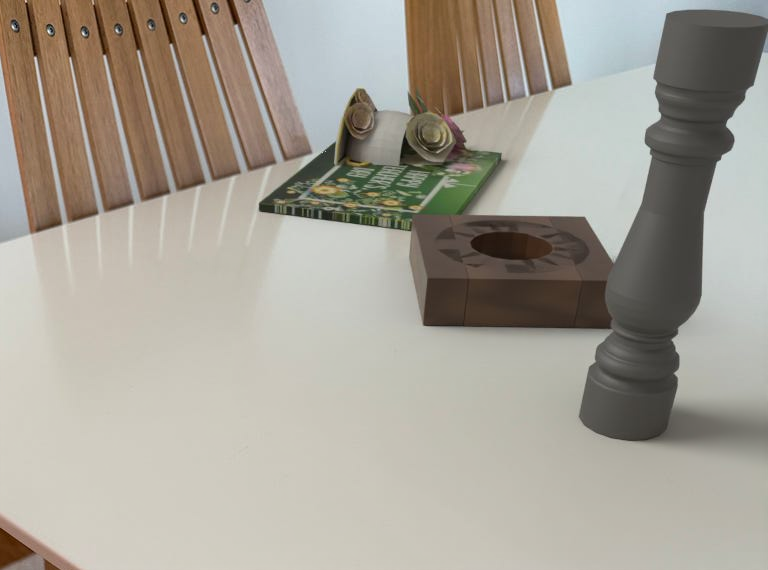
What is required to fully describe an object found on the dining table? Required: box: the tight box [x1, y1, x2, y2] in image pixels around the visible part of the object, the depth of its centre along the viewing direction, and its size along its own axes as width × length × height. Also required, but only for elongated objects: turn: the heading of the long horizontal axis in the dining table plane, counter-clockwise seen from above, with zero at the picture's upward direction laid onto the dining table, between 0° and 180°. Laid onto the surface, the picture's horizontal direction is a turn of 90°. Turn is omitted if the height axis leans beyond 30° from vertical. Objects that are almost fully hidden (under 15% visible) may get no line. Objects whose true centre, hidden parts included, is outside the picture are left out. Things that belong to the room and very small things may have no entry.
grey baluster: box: [578, 8, 768, 441], centre depth 67 cm, size 6×6×25 cm
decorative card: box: [258, 83, 503, 231], centre depth 116 cm, size 33×8×20 cm
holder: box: [408, 214, 615, 329], centre depth 92 cm, size 16×16×4 cm
